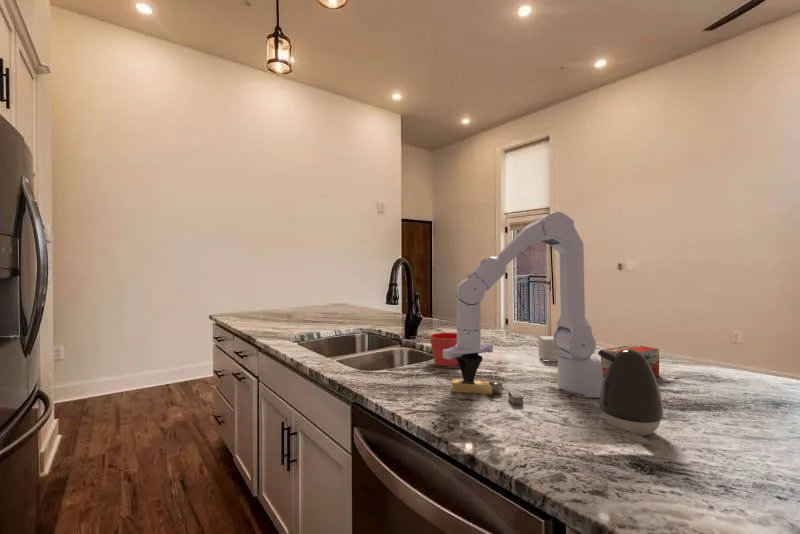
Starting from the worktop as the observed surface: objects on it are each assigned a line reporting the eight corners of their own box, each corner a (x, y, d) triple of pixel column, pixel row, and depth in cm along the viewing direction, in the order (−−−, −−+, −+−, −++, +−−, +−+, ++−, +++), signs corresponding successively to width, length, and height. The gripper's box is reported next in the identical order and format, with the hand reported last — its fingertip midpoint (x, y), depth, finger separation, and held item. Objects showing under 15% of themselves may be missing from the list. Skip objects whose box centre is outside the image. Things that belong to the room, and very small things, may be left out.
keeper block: (517, 400, 83) (517, 390, 83) (523, 406, 79) (523, 397, 79) (508, 400, 83) (508, 390, 83) (513, 406, 79) (513, 397, 79)
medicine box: (630, 369, 113) (630, 342, 113) (660, 376, 106) (660, 348, 106) (599, 376, 106) (599, 348, 106) (629, 384, 99) (629, 354, 99)
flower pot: (424, 364, 119) (424, 333, 119) (456, 361, 123) (456, 331, 123) (438, 373, 109) (438, 339, 109) (471, 369, 112) (471, 337, 112)
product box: (557, 357, 127) (557, 336, 127) (562, 362, 121) (562, 339, 121) (538, 357, 128) (538, 335, 128) (542, 361, 122) (542, 339, 122)
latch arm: (501, 390, 89) (501, 381, 89) (502, 395, 86) (502, 385, 86) (452, 387, 91) (452, 378, 91) (452, 391, 88) (452, 382, 88)
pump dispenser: (604, 415, 78) (604, 341, 78) (665, 428, 71) (665, 348, 71) (592, 431, 70) (592, 350, 70) (660, 449, 63) (659, 359, 63)
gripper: (478, 324, 99) (478, 375, 99) (434, 329, 91) (434, 385, 91) (499, 328, 93) (498, 383, 93) (454, 333, 85) (453, 393, 85)
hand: (468, 384), depth 91 cm, fingers closed, pressing on latch arm
